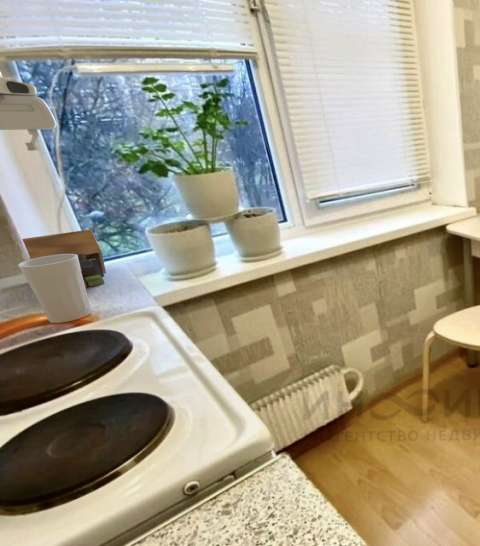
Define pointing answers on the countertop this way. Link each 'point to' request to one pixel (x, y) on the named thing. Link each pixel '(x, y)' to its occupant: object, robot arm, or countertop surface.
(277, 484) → the countertop surface
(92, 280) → the packet right
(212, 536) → the countertop surface
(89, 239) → the basket
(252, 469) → the countertop surface
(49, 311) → the cup
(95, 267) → the basket stand
